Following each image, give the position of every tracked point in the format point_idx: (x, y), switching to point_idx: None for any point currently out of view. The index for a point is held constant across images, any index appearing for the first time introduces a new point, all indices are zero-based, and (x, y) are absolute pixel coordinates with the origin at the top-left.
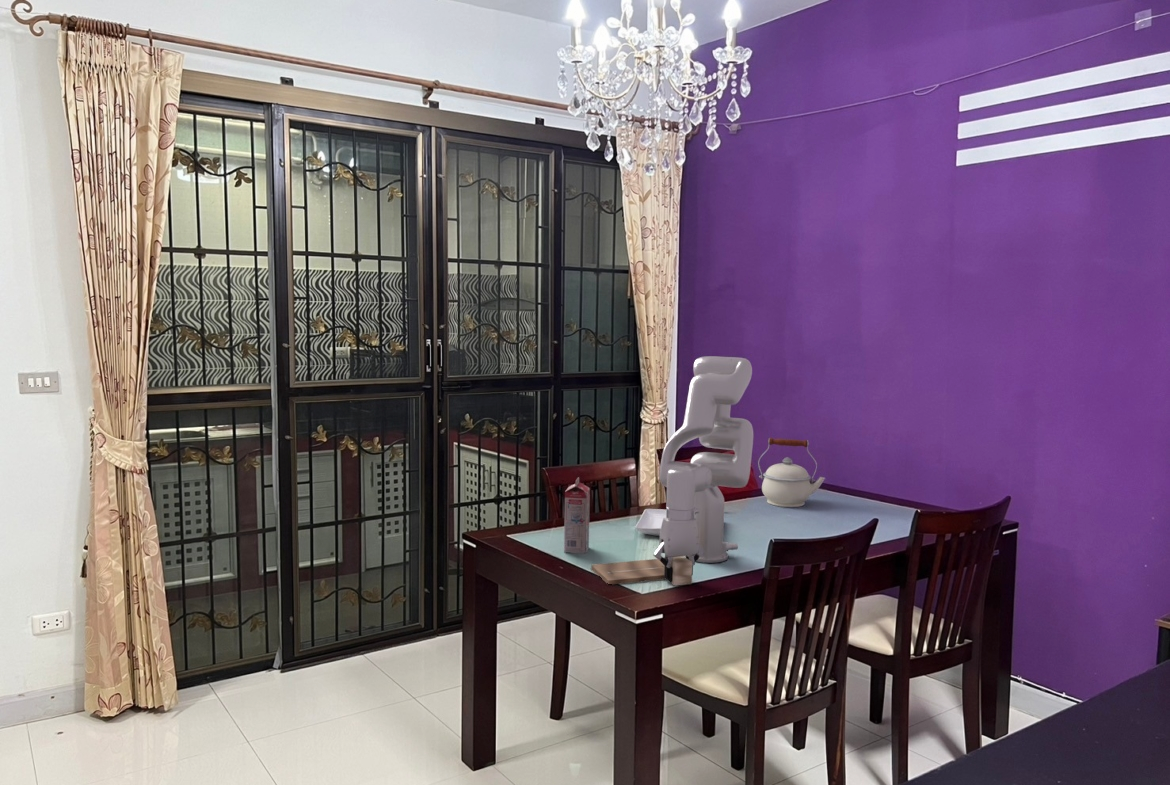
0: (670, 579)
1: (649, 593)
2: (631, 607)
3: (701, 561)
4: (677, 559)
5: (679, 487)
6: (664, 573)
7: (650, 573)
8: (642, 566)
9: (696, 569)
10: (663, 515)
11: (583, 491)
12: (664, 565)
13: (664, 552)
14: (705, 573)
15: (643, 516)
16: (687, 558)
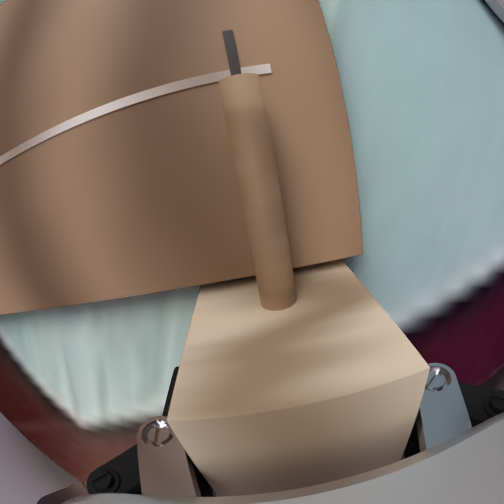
0: None
1: (108, 432)
2: (77, 476)
3: (501, 17)
4: (296, 474)
5: None
6: (172, 380)
7: (85, 240)
8: (61, 60)
9: (471, 98)
10: None
11: None
12: (226, 112)
13: (128, 494)
14: (491, 186)
15: None
16: (425, 417)
